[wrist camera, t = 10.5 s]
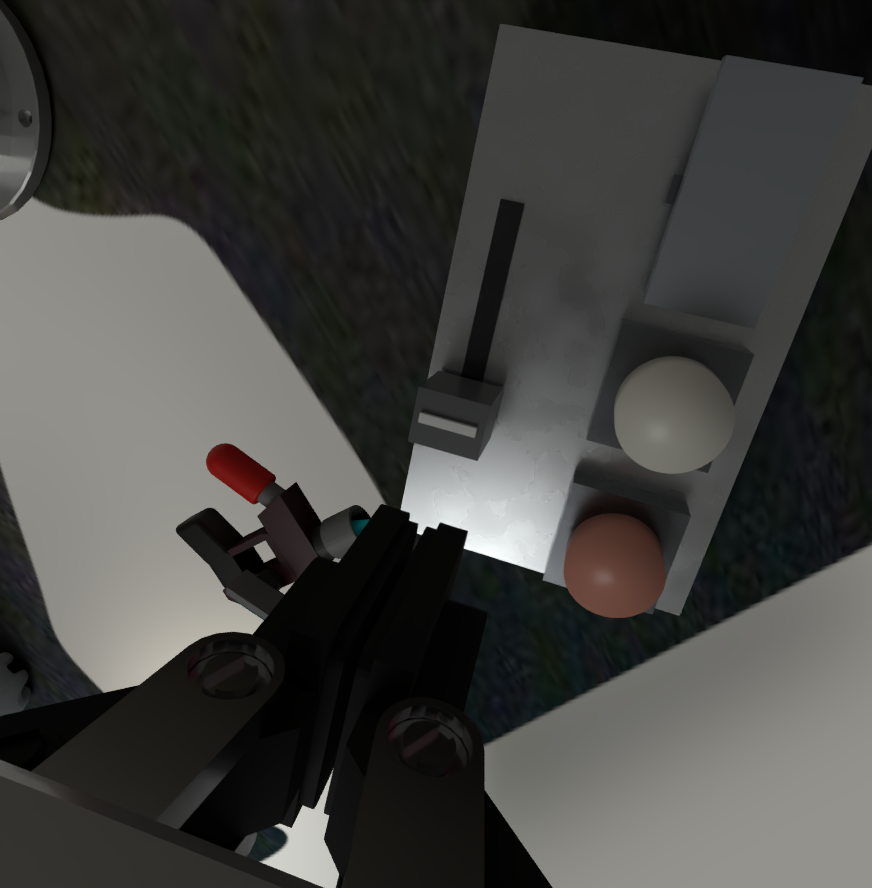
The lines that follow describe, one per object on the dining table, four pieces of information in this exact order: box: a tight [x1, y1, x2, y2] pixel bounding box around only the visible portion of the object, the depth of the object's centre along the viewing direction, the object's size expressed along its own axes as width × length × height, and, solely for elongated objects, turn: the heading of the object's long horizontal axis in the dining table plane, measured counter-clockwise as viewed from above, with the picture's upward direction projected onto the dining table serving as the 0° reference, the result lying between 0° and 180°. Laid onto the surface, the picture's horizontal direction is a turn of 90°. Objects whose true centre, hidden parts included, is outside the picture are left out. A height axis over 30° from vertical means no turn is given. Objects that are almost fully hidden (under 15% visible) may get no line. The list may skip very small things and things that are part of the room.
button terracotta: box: [564, 513, 666, 618], centre depth 27 cm, size 4×4×3 cm
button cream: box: [614, 356, 735, 474], centre depth 24 cm, size 4×4×3 cm
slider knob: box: [408, 371, 503, 461], centre depth 27 cm, size 3×2×3 cm
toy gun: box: [176, 444, 371, 620], centre depth 36 cm, size 10×12×5 cm
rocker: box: [644, 55, 863, 329], centre depth 22 cm, size 4×8×1 cm, turn 168°
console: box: [401, 24, 872, 616], centre depth 28 cm, size 14×22×6 cm, turn 168°
